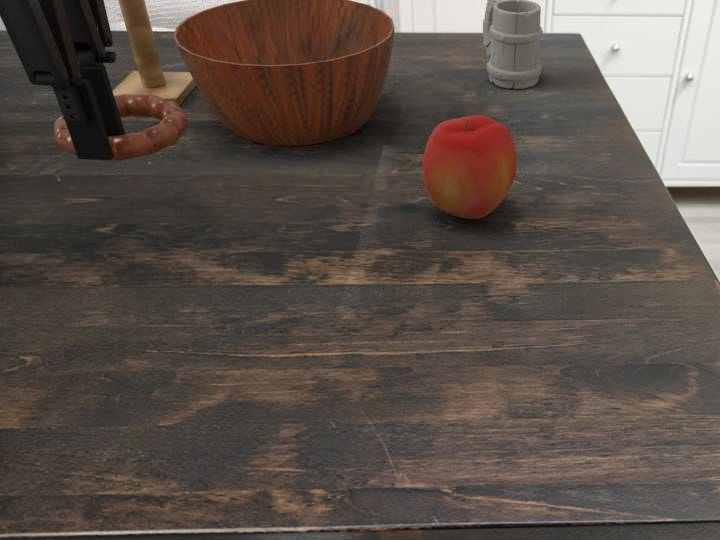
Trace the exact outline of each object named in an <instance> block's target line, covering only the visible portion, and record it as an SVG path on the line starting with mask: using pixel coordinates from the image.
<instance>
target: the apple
mask: <svg viewBox="0 0 720 540" xmlns="http://www.w3.org/2000/svg"><path fill="white" fill-rule="evenodd" d="M517 161H518V159H517V150H516V146H515V142H514V138H513V135H512V134H511V132H510V130H509V129H508V128H507V127H506V126H504V125H503V124H501V123H499V122H497V121H496V120H494V119H493V118H491V117H487V116H483V115H469V116H462V117H459V118H453V119H447V120H444V121H442V122H441V123H439V124H438V125H437V126H435V128H434V129H433V131H432V133H430V136H429V138H428V140H427V142H426V145H425V149H424V154H423V159H422V178H423V184H424V187H425V190H426V194H427V195H428V197H429V199H430V200H431V202H432V203H433V204H434V205H435V207H437V208H438V209H440V210H441V211H442V212H444V213H446V214H448V215H451V216H453V217H457V218H461V219H467V220H479V219H482V218H485V217H486V216H488V215H489V214H491V213H492V212H493V211H495V210H496V209H497V208H498V206H500V204H501V203H502V202H503V201H504V199H506V197H507V195H508V194H509V192H510V190H511V189H512V186H513V184H514V181H515V177H516V173H517V166H518V165H517V164H518V162H517Z"/></svg>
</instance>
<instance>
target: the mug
mask: <svg viewBox="0 0 720 540" xmlns="http://www.w3.org/2000/svg"><path fill="white" fill-rule="evenodd" d="M541 14H542V8H541V5H540V4H539V3H537V2H534V1H531V0H487V2H486V6H485V11H484V19H482V39H483V40H482V41H483V47H484V48H485V52H486V56H487V58H489V60H488V62H487V63H486V72H487V73H488V81H489V82H490V83H491V84H494V85H495V86H497V87H498V88H504V89H508V90H509V89H513V90H523V89H528V88H532V87H534V86H535V85H537V83H538V82H539V79H540V77H539V76H540V75H541V74H542V70H543V66H542V63H541V61H540V49H541V48H540V46H541V38H542V36H543V33H544V31H543V27H541V17H542V16H541Z"/></svg>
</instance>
